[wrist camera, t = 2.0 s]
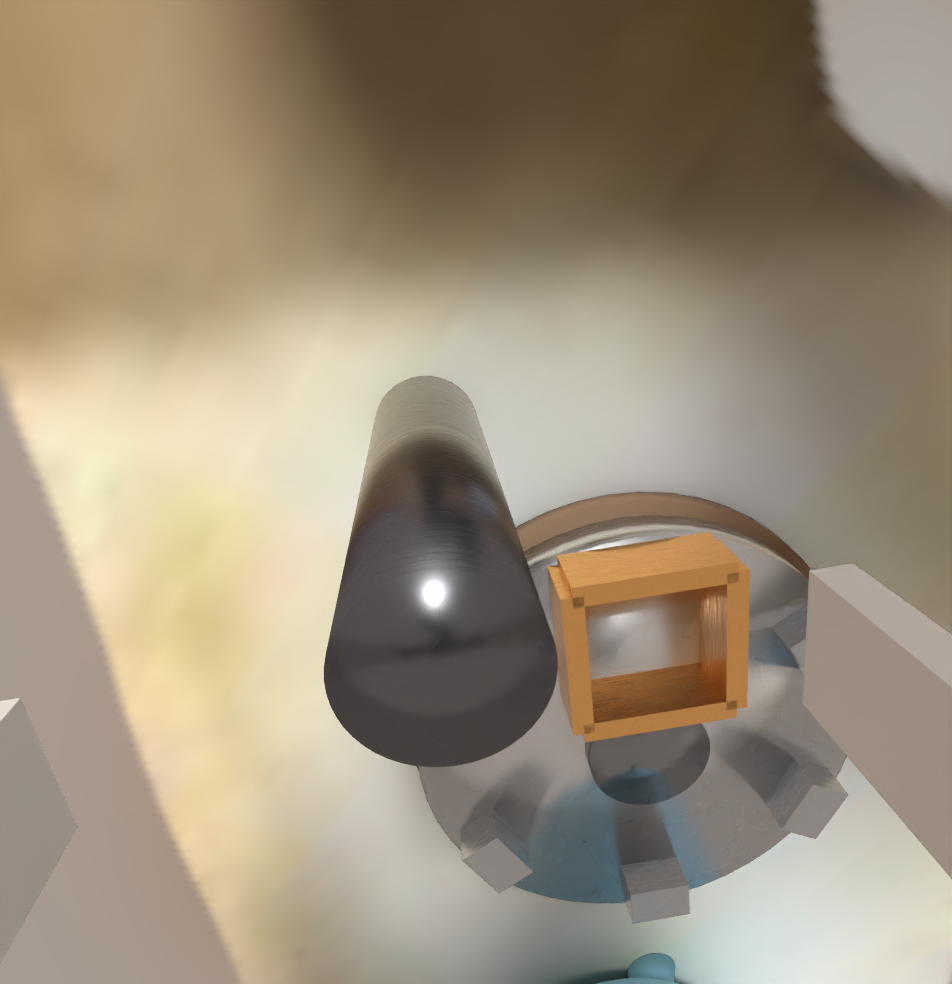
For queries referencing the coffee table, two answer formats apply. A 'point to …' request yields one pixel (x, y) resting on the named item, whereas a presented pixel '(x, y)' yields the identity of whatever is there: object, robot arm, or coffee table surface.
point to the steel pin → (436, 594)
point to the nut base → (649, 505)
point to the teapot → (649, 971)
